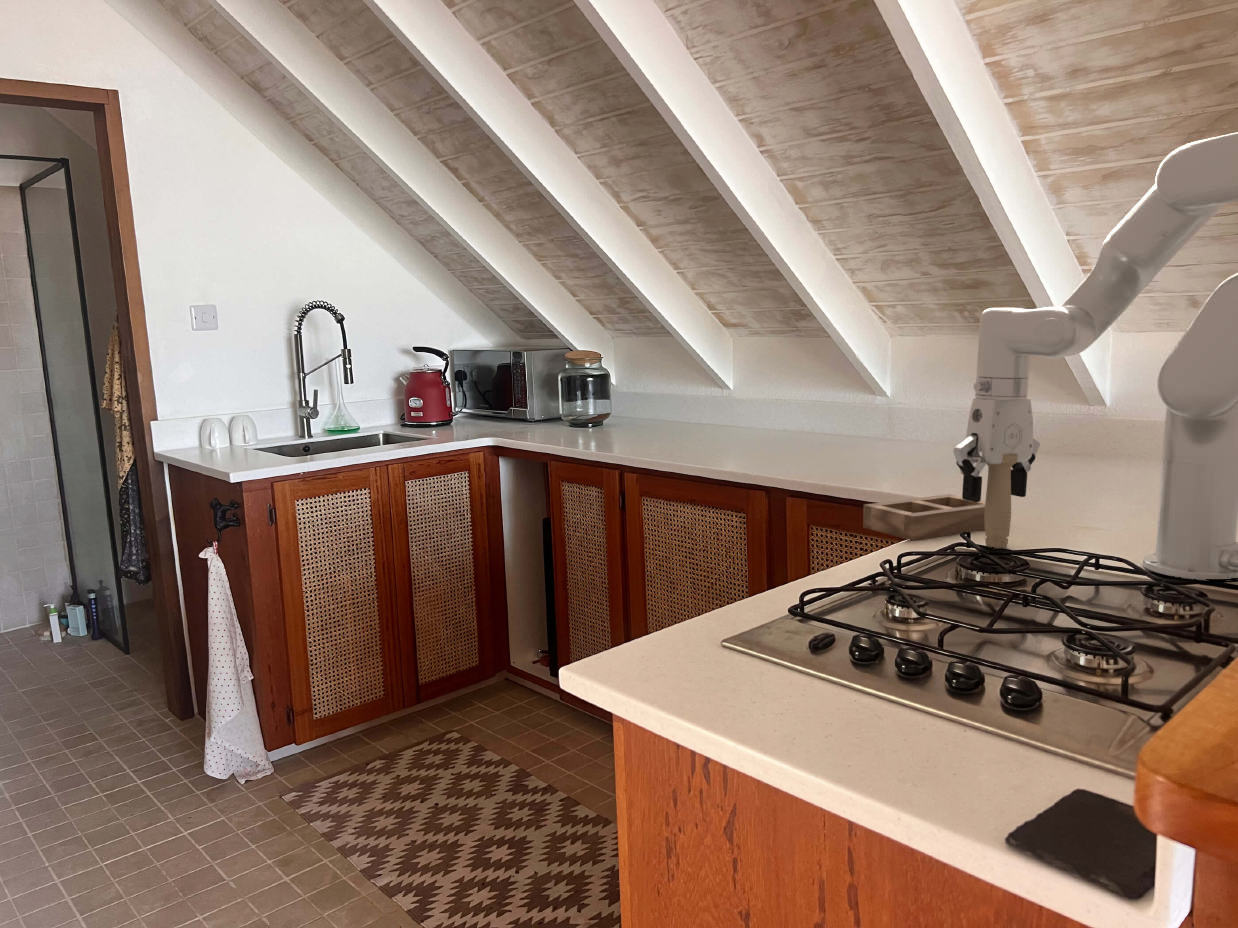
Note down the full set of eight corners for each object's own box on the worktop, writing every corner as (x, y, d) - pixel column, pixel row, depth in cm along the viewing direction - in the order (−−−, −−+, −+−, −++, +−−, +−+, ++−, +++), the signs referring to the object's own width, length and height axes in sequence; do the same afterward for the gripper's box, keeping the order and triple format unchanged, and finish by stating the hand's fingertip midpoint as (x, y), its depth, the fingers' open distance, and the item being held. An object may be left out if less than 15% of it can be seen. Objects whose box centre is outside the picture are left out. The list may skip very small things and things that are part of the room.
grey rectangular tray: (1000, 527, 165) (1001, 504, 164) (912, 540, 156) (912, 516, 156) (948, 515, 176) (949, 494, 175) (863, 527, 167) (863, 504, 166)
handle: (1005, 542, 154) (1009, 449, 152) (1018, 551, 147) (1023, 455, 145) (974, 542, 154) (978, 449, 152) (986, 551, 148) (990, 455, 146)
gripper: (979, 392, 140) (971, 507, 143) (1061, 389, 148) (1052, 497, 151) (941, 389, 147) (934, 498, 150) (1021, 385, 154) (1014, 489, 157)
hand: (994, 498), depth 150 cm, fingers open, 9 cm apart
